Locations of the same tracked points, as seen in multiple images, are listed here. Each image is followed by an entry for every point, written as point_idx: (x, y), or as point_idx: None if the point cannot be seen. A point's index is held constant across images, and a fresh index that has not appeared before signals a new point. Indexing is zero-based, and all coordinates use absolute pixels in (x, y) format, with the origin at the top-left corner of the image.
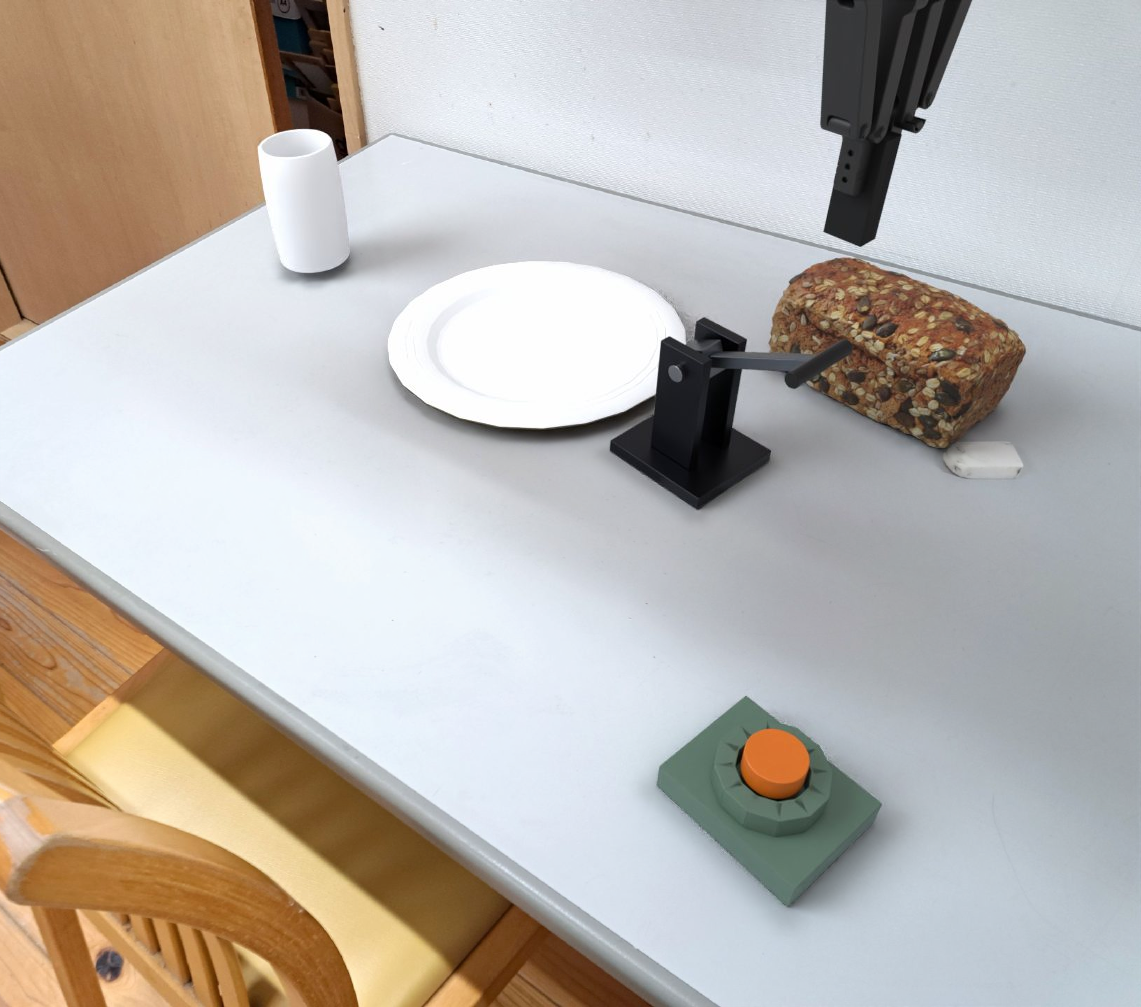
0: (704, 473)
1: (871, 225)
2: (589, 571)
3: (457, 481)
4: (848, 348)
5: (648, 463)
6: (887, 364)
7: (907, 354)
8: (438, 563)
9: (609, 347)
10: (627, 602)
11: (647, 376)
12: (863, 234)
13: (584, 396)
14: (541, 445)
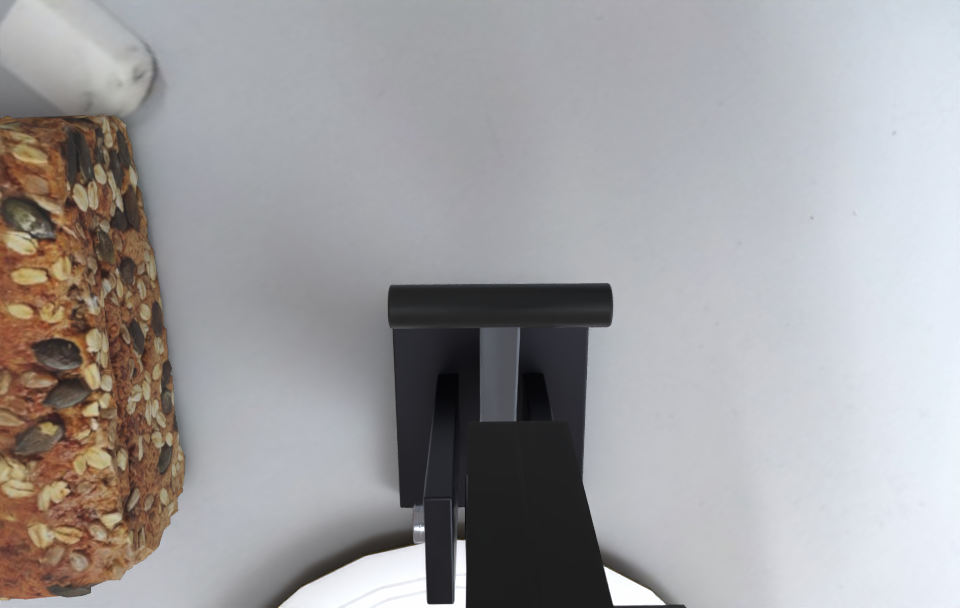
0: (530, 352)
1: (530, 459)
2: (817, 322)
3: (804, 585)
4: (407, 292)
5: (580, 428)
6: (103, 300)
7: (74, 279)
8: (957, 475)
9: None
10: (830, 238)
11: (414, 579)
12: (573, 447)
13: None
14: (648, 567)
